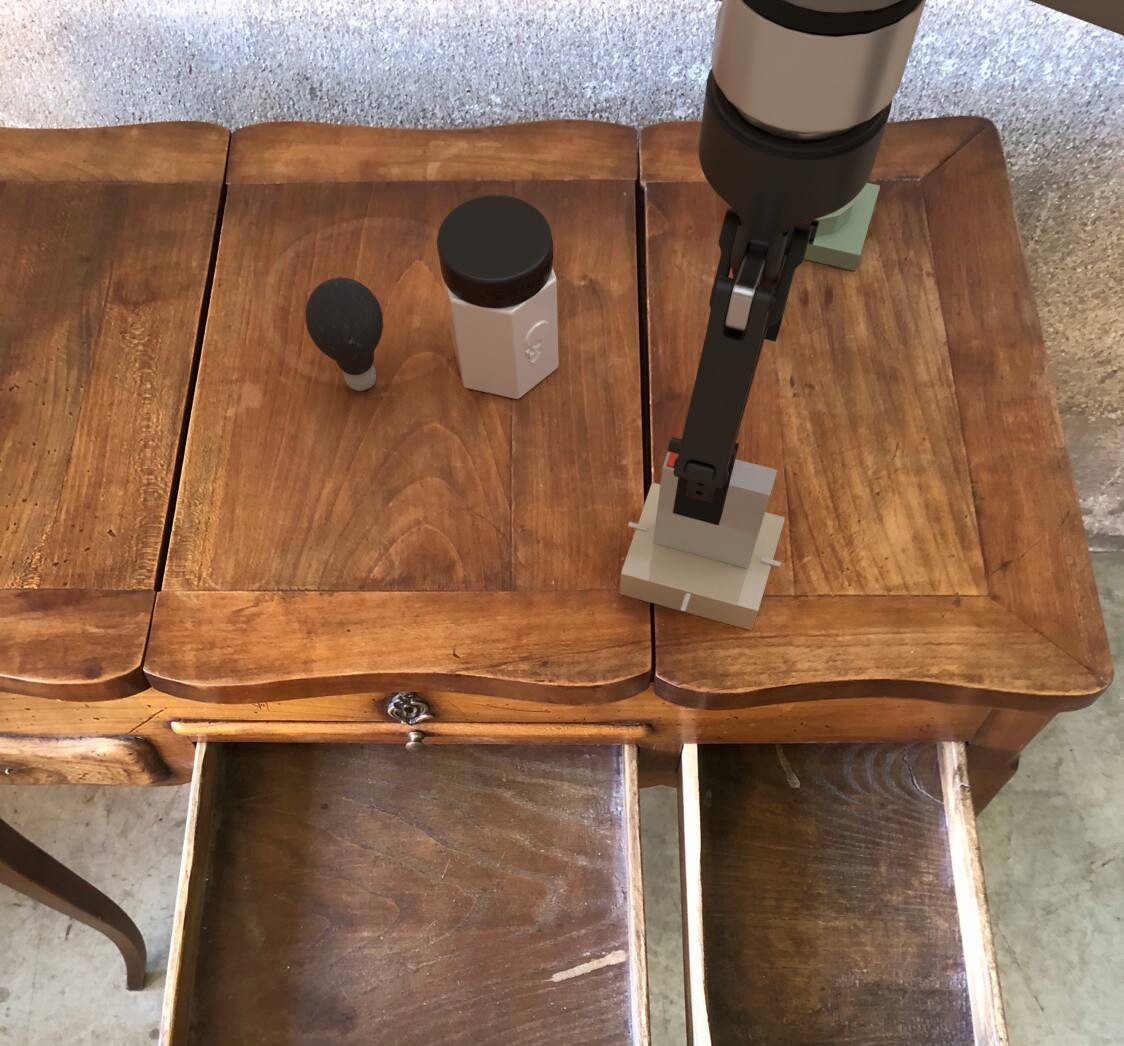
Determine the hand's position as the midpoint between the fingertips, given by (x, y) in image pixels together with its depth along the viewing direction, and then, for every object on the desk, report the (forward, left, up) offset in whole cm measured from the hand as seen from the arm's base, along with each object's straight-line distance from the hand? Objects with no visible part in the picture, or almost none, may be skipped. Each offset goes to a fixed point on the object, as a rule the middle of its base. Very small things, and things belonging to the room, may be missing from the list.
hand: (727, 420), depth 62 cm
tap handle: (0, 0, -14) cm, 14 cm away
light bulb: (+30, -8, -17) cm, 35 cm away
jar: (+20, -14, -17) cm, 30 cm away
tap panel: (0, 0, -17) cm, 17 cm away
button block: (0, -35, -17) cm, 39 cm away
